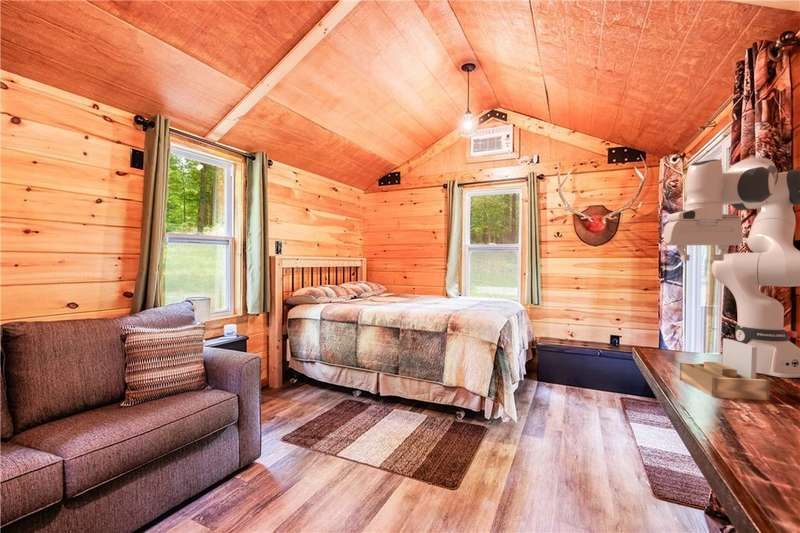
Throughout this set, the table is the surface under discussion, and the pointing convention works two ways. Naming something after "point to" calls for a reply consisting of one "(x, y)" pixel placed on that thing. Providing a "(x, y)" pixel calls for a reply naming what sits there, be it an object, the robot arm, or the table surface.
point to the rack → (724, 383)
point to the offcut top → (721, 369)
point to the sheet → (740, 357)
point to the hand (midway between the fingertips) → (701, 260)
